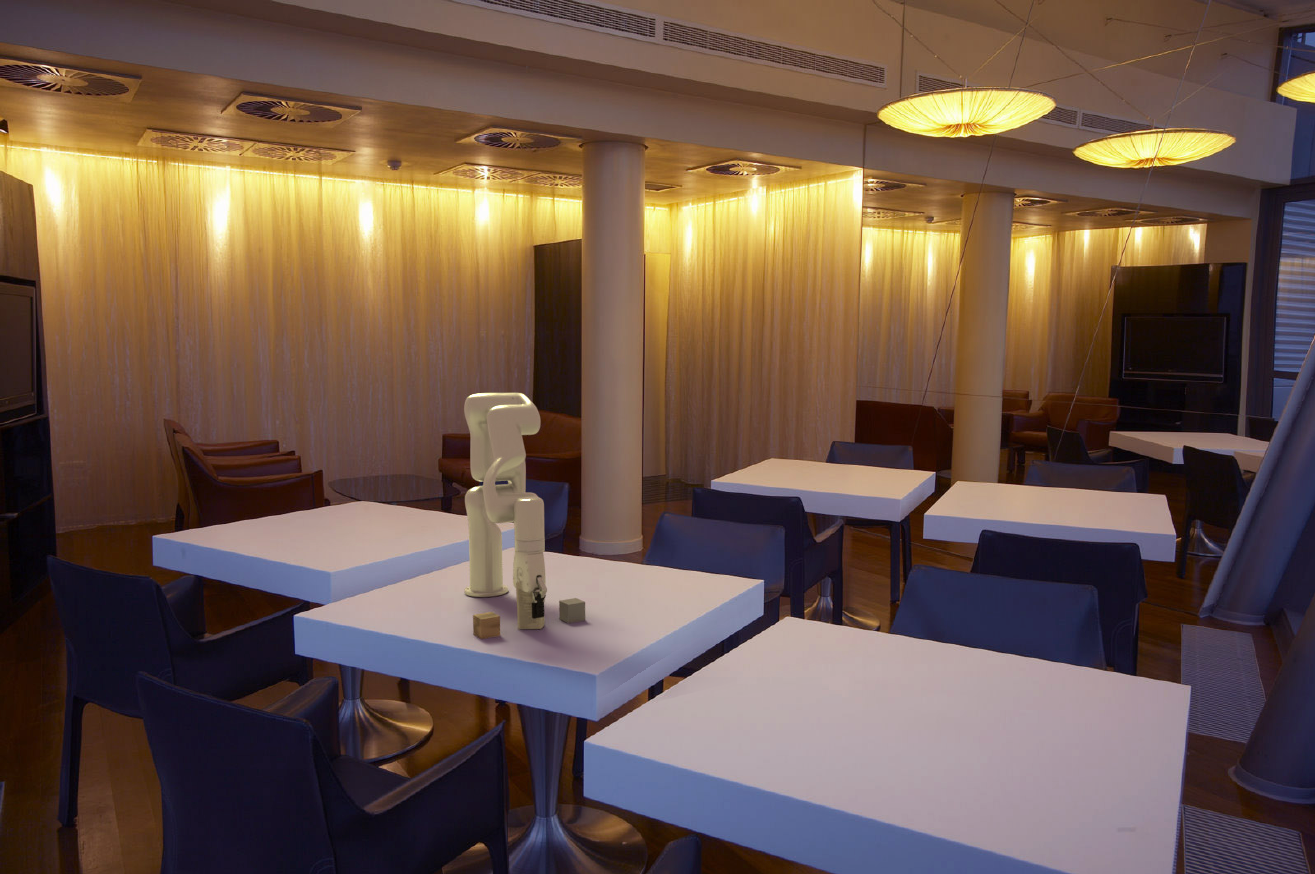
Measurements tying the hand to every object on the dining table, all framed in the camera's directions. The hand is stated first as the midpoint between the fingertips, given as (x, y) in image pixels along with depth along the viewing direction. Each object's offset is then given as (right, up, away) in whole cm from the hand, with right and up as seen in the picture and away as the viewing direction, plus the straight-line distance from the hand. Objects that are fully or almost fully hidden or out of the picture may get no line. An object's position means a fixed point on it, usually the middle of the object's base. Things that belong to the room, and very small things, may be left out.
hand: (530, 613), depth 229 cm
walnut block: (-10, -4, -6) cm, 13 cm away
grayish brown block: (+10, -3, +7) cm, 13 cm away
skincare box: (0, -4, 0) cm, 4 cm away
